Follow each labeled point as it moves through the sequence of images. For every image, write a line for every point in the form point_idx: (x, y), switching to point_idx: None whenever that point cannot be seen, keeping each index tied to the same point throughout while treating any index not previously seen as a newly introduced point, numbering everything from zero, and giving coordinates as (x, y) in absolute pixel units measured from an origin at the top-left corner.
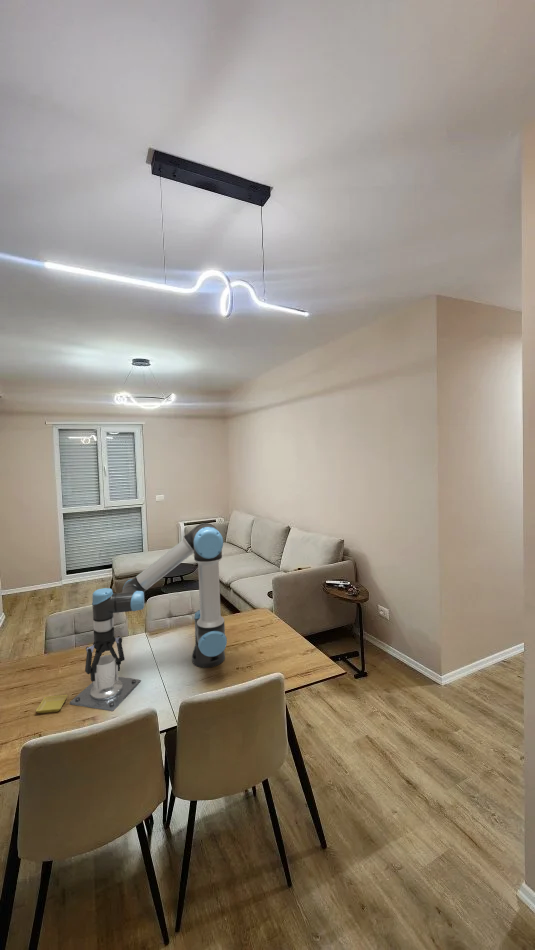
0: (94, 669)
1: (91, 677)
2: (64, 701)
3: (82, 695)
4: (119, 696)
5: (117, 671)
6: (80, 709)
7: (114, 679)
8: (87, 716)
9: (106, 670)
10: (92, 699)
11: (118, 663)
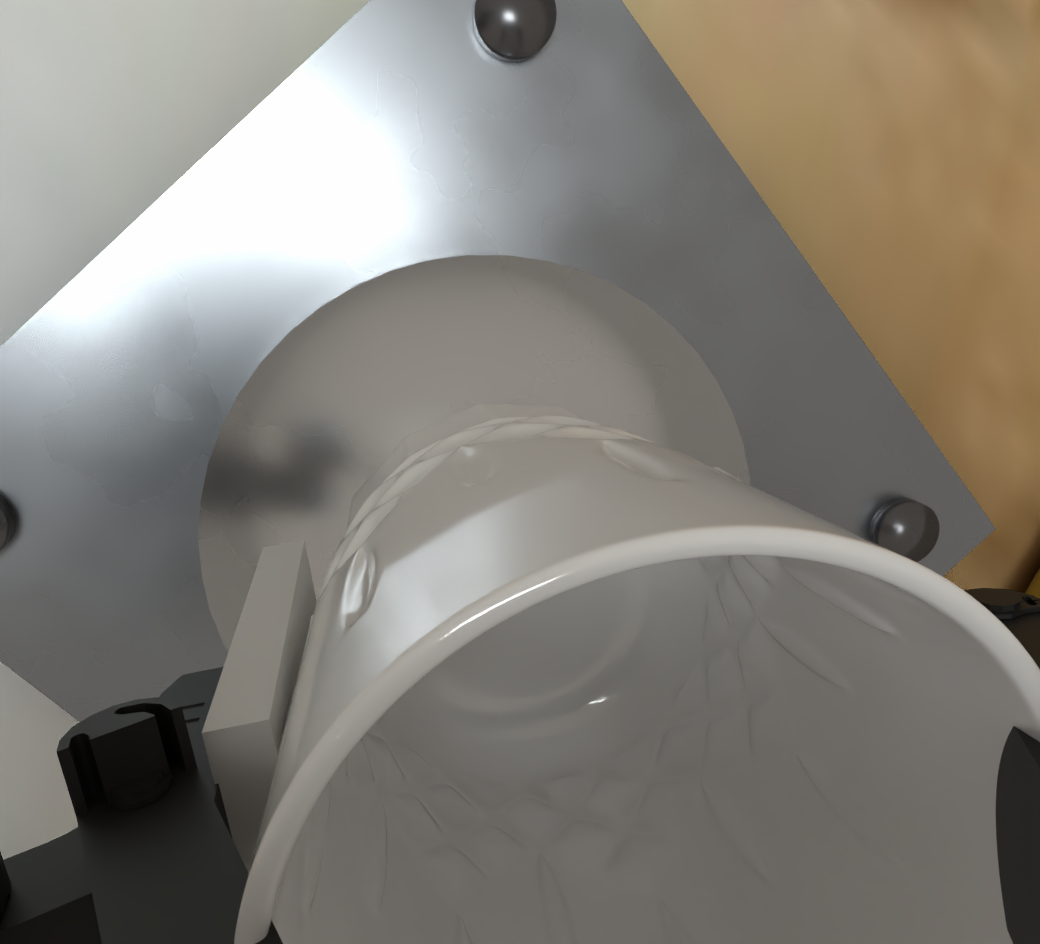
0: (1034, 651)
1: None
2: (1036, 588)
3: None
4: (327, 197)
5: (251, 631)
6: (902, 300)
7: (357, 509)
8: (877, 39)
9: (664, 476)
10: (731, 401)
11: (165, 760)
